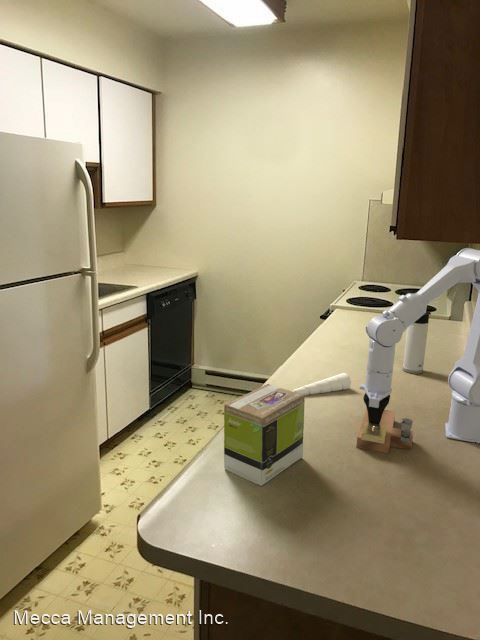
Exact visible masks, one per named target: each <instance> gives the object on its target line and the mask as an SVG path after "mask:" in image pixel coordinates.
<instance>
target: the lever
mask: <svg viewBox="0 0 480 640" xmlns="http://www.w3.org/2000/svg"><path fill="white" fill-rule="evenodd" d="M400 421H401V422H400V427H401V429H402V430H401V441H406V442H410V437H411V431H412V430H411V429H412V428H413V420H412V419H410V418H406V417H405V418H403V417H402V418H401V420H400Z"/></svg>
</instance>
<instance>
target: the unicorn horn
mask: <svg viewBox="0 0 480 640" xmlns="http://www.w3.org/2000/svg"><path fill="white" fill-rule="evenodd" d="M351 386H352V380H351V377H350V375H349V374H348V373H345V372H342V373H339V374H337V375H333V376H330V377H327V378H324V379H322V380H318V381H315V382H312V383H309V384H306V385H302V386H301V387H298V388H295V389H292V390H291V391H293V392H296V393H300V394H303V395H305V396H309V395H310V396H311V395H318V394H324V393H330V392H337V391H344V390H345V391H346V390H349V389H350V388H351Z"/></svg>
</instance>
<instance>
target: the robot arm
mask: <svg viewBox="0 0 480 640" xmlns="http://www.w3.org/2000/svg"><path fill="white" fill-rule="evenodd" d="M464 283H465V284H467V283H471V284H472V286H474V288H475V289H476V290H477V292H478V294H477V295H478V296H477V299H476V303H475V307H474V312H473V316H472V318H471V319H472V320H471V324H470V328H469V332H468V337H467V340H466V344H465V349H464V353H463V356H462V357H461V358H460V359H458V360H456V361H455V363H454V366H453V368H452V370H451V372H450V373H449V374H448V378H447V384H448V386H449V388H450V389H451V403H450V409H449V416H448V422H445V424H444V426H445V437H446V438H448V439H453V440H458V441H463V442H464V441H465V442H470V443H471V442H472V443H475V442H476V443H475V444H480V250H479V249H474V248H473V247H472V248H471V247H466V248H462V249H461V250H459V251H458V252H457V253H456V255H453V256H452V257H450V258H449V260H448V262H447V263H446V265H445V266H444V267H443V268H442V269H441V270H439V272H438V273H436V275H434V277H432V278H430V280H428V282H427V283H425V284H424V286H422V287H421V288H420V289H419V290H418V291H417V292H415V293H410V292H408V293H406V294H405V295H404V294H401V295H400V296H399V297H398V301H397V302H396V303H394V304H393V305H392V306H390V307H389V308H388V309H387V310H386V309H385V310H384V311H382V314H380V315H375V316H374V317H372V318H371V319H370V320H369V322H368V324H367V326H365V333H366V334H367V336H368V338H369V341H368V350H367V361H366V370H365V371H366V374H365V382H364V383H360V384H359V389H360V390H363V391H364V392H365V393H364V395H363V398H362V399H363V402H364V404H365V406H366V408H367V411H368V420H369V423H372V424H378V425H379V424H380V421H381V417H382V414H383V411H384V410H386V408H387V406H388V405H389V404H390V400H391V394H392V392H393V391H392V390H393V389H392V384H393V383H392V382H393V373H394V364H395V363H394V362H395V353H396V344H398V343H399V342H401V339H402V338H403V334H404V332H405V331H406V330H407V328H408V327H409V326H410V325H412V324H413V323H414V322H415V321H416V320H418V319H419V318H420V317H421V316H422V315H424V314H425V313H426V312H427V307H428V305H429V304H430V303H431V302H432V301H434V300H435V299H437V298H439V297H440V296H442V295H443V294H444V293H446V292H447V291H448V290H449V289H451V288H452V287H453V286H456V284H464Z"/></svg>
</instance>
